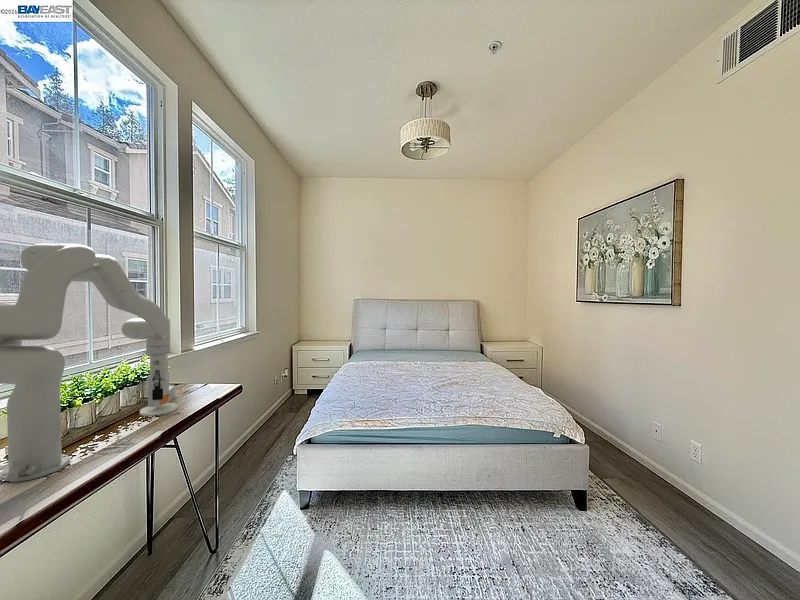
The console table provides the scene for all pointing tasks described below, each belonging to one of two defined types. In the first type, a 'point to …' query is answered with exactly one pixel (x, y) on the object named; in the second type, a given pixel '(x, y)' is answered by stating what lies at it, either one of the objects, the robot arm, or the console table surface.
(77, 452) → the console table surface
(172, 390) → the small box
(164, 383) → the skincare box
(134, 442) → the console table surface
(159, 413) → the ceramic dish
